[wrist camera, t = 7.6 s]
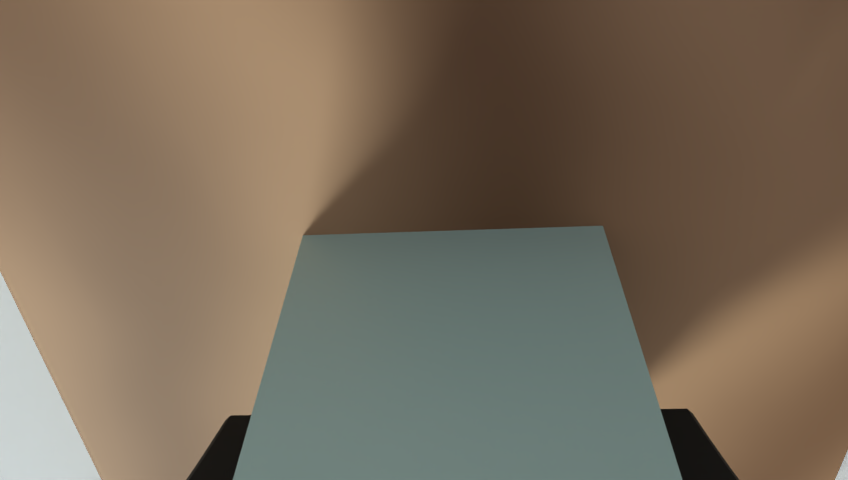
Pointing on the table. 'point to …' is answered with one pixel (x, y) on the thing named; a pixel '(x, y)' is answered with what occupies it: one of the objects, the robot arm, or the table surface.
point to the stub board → (426, 191)
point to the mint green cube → (456, 363)
